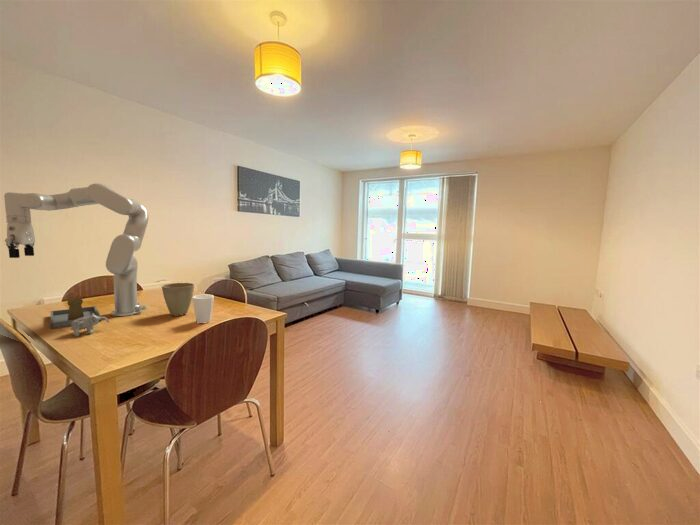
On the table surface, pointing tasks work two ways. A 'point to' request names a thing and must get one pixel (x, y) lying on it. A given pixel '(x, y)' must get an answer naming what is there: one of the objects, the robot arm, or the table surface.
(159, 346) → the table surface
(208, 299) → the foam cup
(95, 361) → the table surface
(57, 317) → the tray
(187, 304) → the plant pot
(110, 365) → the table surface
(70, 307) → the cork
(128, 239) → the robot arm
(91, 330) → the gray elephant figurine
